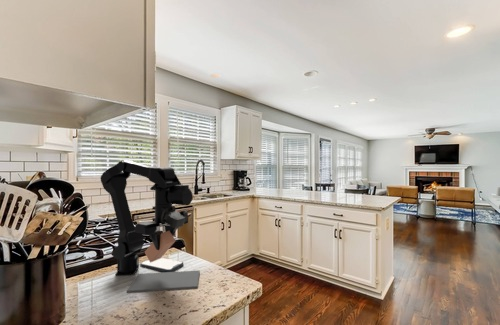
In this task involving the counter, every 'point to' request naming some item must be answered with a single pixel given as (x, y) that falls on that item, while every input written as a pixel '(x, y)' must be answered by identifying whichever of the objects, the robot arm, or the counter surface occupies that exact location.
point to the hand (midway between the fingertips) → (163, 247)
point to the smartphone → (163, 265)
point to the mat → (164, 281)
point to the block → (165, 244)
